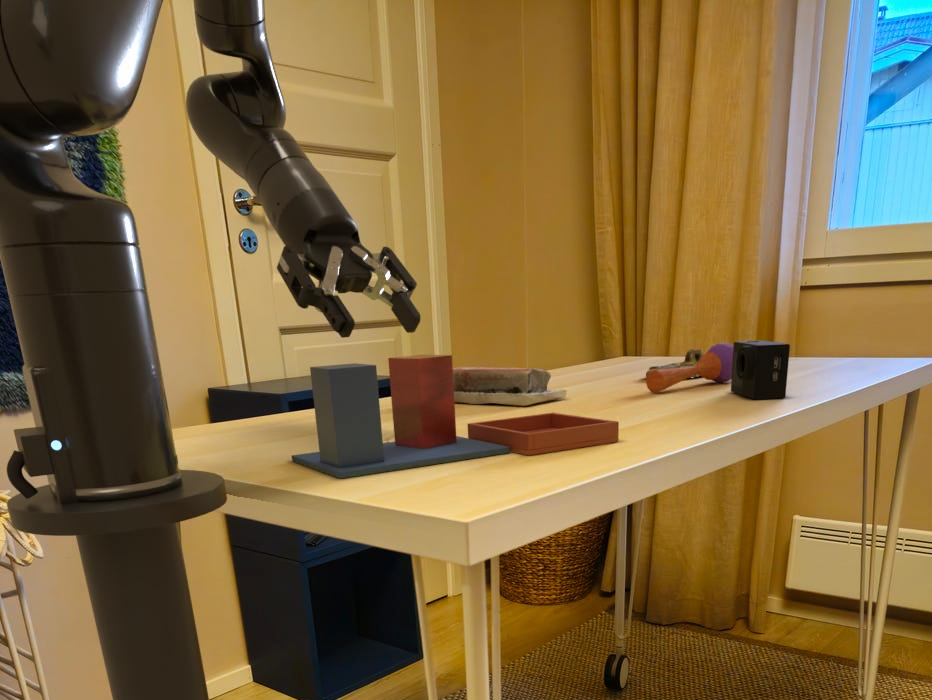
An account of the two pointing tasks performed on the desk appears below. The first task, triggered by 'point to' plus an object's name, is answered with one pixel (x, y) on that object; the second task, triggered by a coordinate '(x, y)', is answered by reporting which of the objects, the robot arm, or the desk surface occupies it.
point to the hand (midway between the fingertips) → (383, 329)
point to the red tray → (545, 432)
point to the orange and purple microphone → (696, 369)
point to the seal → (690, 361)
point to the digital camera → (760, 369)
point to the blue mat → (407, 457)
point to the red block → (423, 400)
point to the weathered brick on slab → (503, 386)
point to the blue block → (347, 414)
